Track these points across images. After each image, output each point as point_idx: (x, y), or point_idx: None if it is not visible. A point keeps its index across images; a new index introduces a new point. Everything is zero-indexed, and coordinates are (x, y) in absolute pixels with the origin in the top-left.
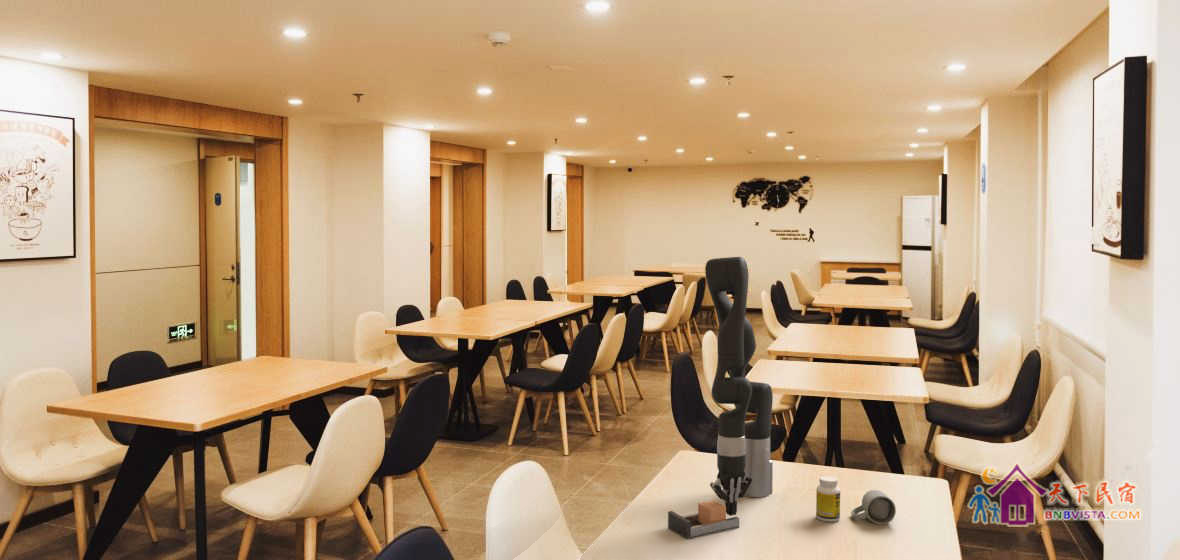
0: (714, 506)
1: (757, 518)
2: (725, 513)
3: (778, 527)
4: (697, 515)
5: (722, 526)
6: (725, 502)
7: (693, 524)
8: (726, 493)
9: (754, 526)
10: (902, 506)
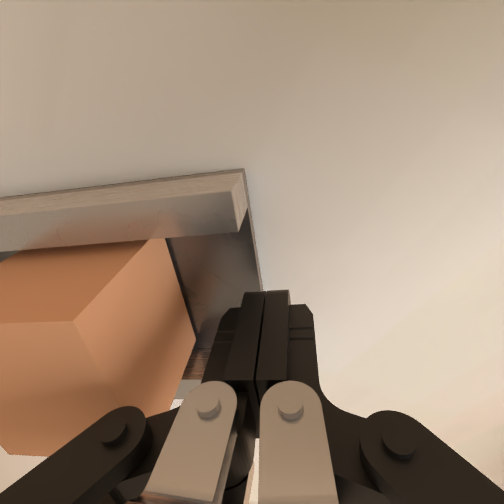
0: (50, 427)
1: (482, 298)
2: (166, 405)
3: (463, 422)
4: (2, 249)
5: None
6: (202, 380)
7: (10, 251)
8: (186, 493)
9: (359, 371)
10: None
